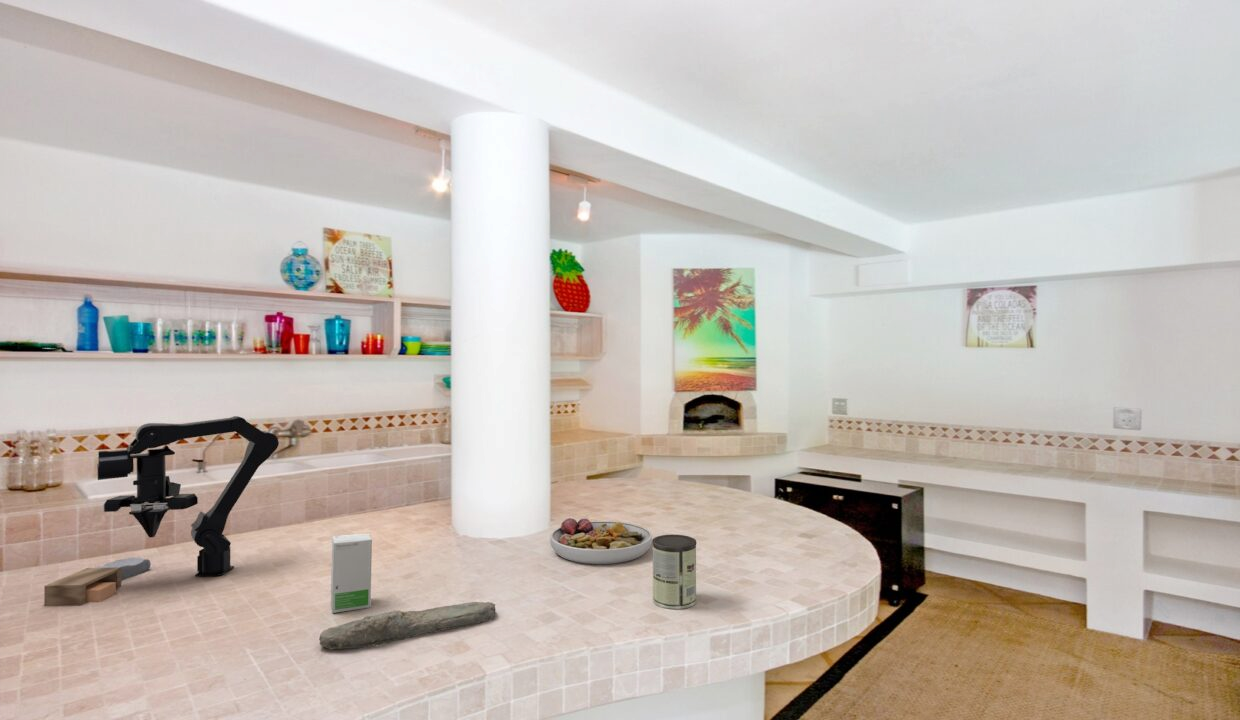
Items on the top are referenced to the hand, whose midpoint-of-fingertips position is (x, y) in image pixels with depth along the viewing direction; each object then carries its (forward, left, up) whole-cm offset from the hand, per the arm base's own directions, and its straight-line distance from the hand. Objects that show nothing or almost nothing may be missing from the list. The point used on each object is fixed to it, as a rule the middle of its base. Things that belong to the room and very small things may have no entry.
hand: (152, 537), depth 153 cm
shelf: (+11, +6, -12) cm, 17 cm away
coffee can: (-128, +17, -12) cm, 130 cm away
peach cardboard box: (+9, +8, -12) cm, 17 cm away
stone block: (+14, -7, -12) cm, 20 cm away
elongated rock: (-72, +30, -12) cm, 79 cm away
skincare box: (-54, +16, -12) cm, 58 cm away
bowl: (-112, -22, -12) cm, 115 cm away
